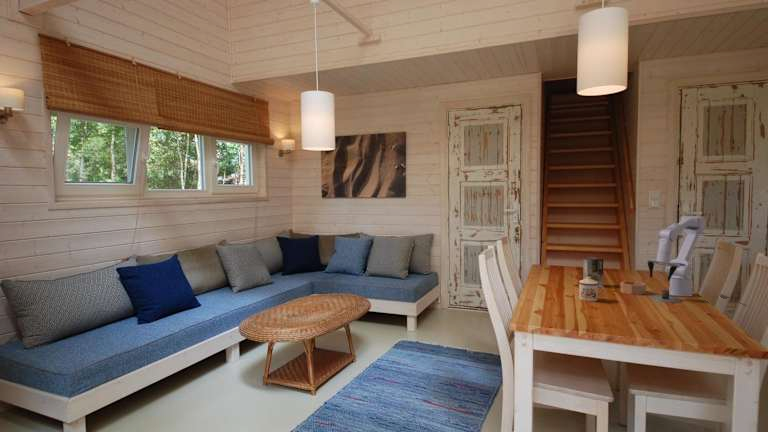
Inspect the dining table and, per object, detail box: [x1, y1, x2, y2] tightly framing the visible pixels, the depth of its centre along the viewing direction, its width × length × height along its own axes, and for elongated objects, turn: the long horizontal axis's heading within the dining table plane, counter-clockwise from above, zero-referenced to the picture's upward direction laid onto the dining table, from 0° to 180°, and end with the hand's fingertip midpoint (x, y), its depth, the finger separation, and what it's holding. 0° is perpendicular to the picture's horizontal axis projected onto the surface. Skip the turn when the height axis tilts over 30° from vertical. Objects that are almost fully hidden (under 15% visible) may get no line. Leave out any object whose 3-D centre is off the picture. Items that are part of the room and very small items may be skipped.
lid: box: [650, 289, 682, 304], centre depth 219 cm, size 13×13×5 cm
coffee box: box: [582, 256, 604, 287], centre depth 250 cm, size 9×6×16 cm
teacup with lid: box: [578, 277, 606, 302], centre depth 220 cm, size 12×9×12 cm
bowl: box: [619, 280, 647, 296], centre depth 234 cm, size 11×11×5 cm
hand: (659, 279), depth 220 cm, fingers open, 7 cm apart
